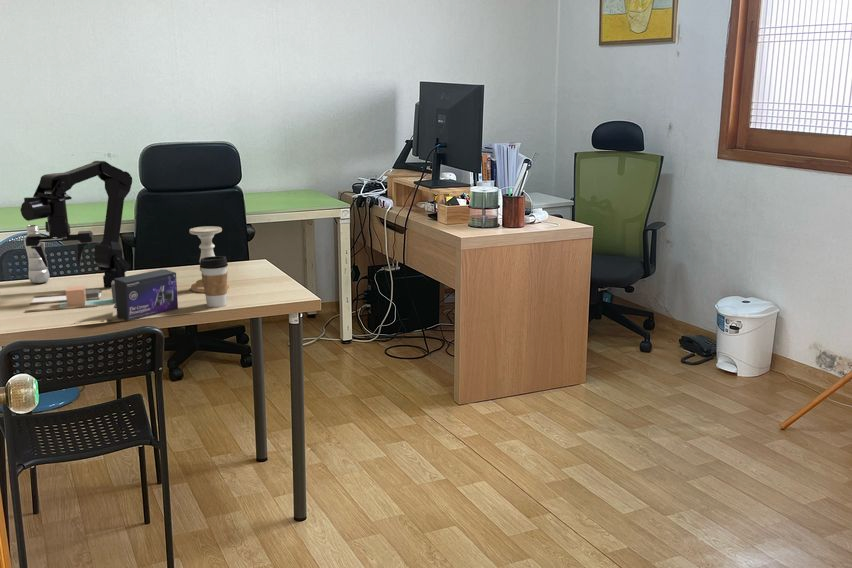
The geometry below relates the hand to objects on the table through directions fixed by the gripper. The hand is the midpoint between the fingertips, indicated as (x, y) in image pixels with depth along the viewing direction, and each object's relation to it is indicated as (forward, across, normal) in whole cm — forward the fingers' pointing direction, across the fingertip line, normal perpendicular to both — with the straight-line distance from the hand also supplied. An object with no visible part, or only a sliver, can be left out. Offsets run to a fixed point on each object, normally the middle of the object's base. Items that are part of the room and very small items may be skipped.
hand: (63, 265), depth 258 cm
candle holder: (+12, -44, -3) cm, 46 cm away
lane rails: (+12, 0, +3) cm, 12 cm away
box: (+12, -24, +21) cm, 35 cm away
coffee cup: (+12, -44, +19) cm, 50 cm away
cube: (+11, -4, +7) cm, 14 cm away
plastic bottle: (+12, +12, -32) cm, 37 cm away
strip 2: (+12, -8, +8) cm, 17 cm away
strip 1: (+12, 0, -2) cm, 12 cm away
